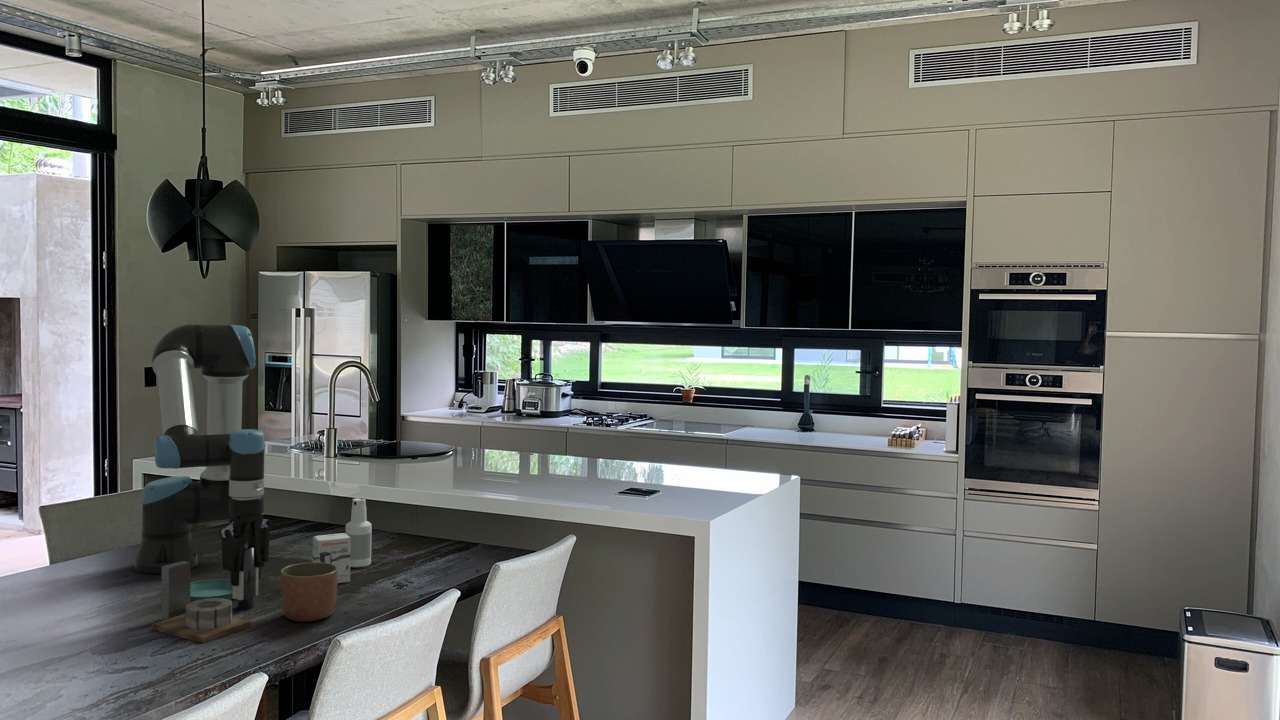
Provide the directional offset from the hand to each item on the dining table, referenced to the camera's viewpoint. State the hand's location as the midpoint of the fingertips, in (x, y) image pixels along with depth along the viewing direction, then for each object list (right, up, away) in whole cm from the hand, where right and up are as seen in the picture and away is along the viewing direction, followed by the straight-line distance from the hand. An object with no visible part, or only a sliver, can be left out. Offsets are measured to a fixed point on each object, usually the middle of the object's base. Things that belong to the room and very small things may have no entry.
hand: (245, 596), depth 223 cm
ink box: (+13, -2, +23) cm, 26 cm away
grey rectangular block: (-12, -3, -8) cm, 15 cm away
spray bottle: (+14, -1, +40) cm, 42 cm away
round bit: (0, -3, 0) cm, 3 cm away
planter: (+16, -4, -5) cm, 17 cm away
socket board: (-3, -3, -15) cm, 16 cm away
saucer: (-11, -2, +7) cm, 13 cm away
